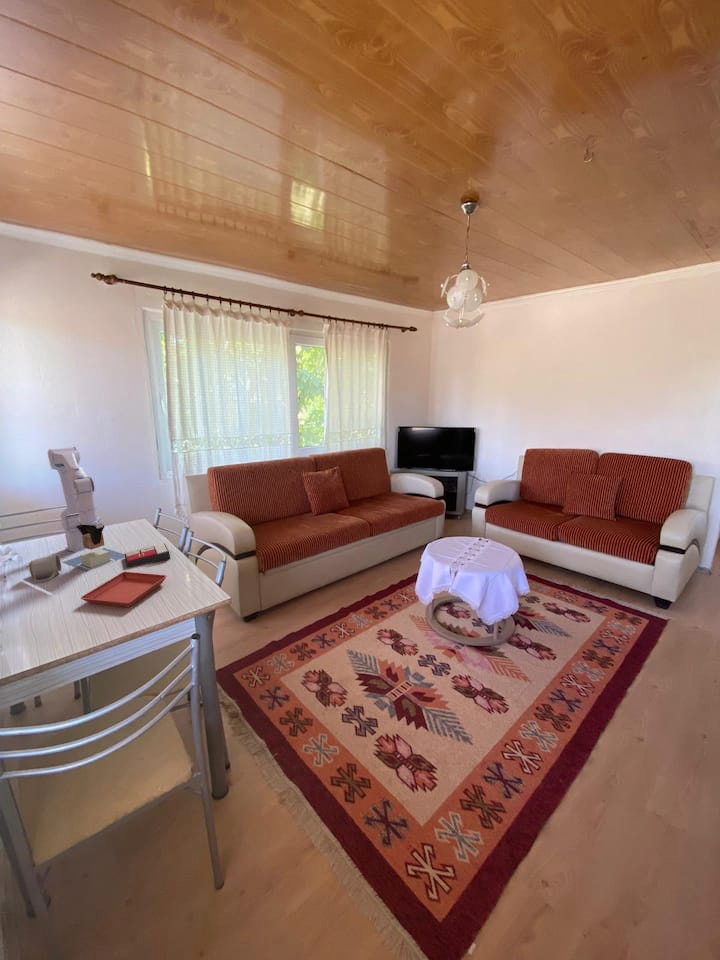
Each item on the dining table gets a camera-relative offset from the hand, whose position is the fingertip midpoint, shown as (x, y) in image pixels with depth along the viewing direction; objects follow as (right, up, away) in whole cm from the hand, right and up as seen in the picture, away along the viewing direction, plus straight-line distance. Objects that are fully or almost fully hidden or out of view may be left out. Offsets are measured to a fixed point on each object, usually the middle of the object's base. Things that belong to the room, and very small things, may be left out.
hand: (93, 542), depth 150 cm
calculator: (+18, -8, +5) cm, 21 cm away
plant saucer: (+26, -14, -21) cm, 36 cm away
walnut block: (0, -2, 0) cm, 2 cm away
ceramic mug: (-11, -12, -9) cm, 18 cm away
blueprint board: (-2, -8, +5) cm, 10 cm away
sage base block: (0, -8, +2) cm, 8 cm away
